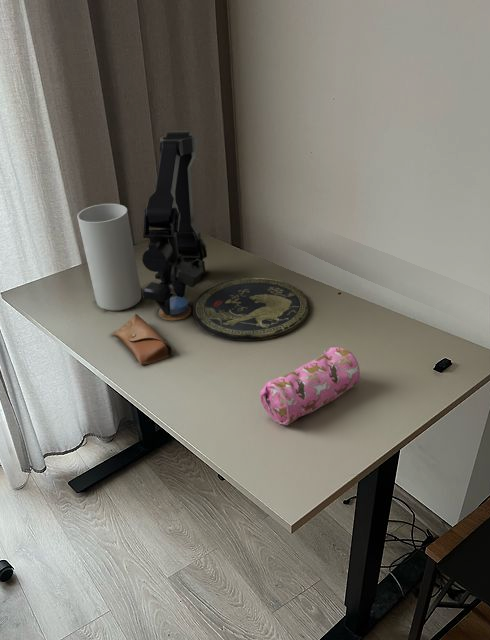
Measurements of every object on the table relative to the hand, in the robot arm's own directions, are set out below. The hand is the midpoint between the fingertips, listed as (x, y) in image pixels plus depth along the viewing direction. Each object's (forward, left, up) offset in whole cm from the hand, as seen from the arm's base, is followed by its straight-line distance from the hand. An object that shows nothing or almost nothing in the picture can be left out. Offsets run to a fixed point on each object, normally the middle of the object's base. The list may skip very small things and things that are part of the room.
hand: (174, 308), depth 158 cm
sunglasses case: (0, -17, -1) cm, 17 cm away
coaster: (0, 0, -1) cm, 1 cm away
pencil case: (+45, -24, -1) cm, 51 cm away
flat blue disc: (0, 0, -1) cm, 1 cm away
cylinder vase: (-18, +1, -1) cm, 18 cm away
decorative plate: (+19, +7, -1) cm, 20 cm away
